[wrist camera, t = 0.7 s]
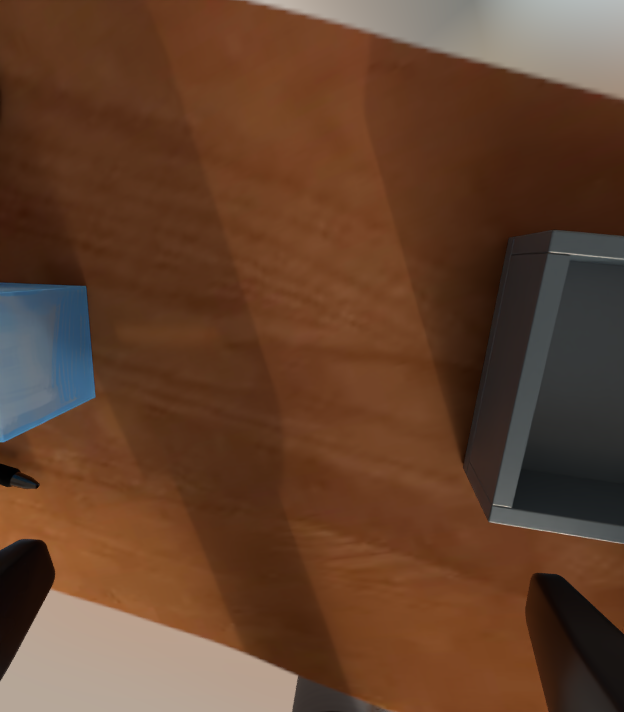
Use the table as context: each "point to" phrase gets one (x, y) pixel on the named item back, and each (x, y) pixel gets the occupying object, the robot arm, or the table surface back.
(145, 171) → the table surface
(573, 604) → the robot arm
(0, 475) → the pen
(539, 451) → the open square box
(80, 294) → the perfume bottle
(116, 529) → the table surface
